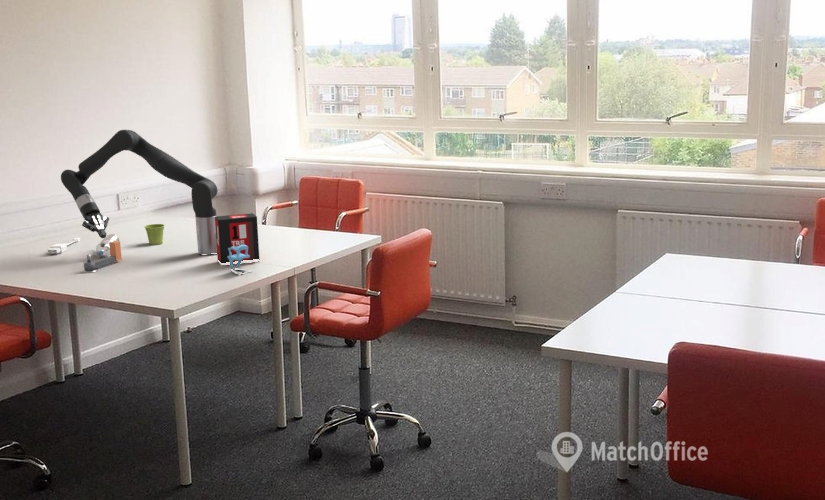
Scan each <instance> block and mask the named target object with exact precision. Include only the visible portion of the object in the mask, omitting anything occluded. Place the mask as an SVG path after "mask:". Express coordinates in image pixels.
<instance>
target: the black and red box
mask: <svg viewBox="0 0 825 500" xmlns="http://www.w3.org/2000/svg"><path fill="white" fill-rule="evenodd" d="M215 228H216V242H217V254H216V255H217V261H218V260H219V261H220V262H221V263H226V262H229V259H228V257H227V256H229V254H230V253H229V250H228V248H231V247H232V246H236V247H238V246H239V245H241V244H244V245H246V246H248V251H247V254H248V255H250V257H249V258H244V259H242V261H243V260H253V259H259V260H260V246H259V243H260V242H259V230H258V229H259V228H258V217H257V215H256V214H254V213H253V212H252V213H251V212H250V213H242V214H241V213H239V214H231V215H230V214H229V215H218V216H217V215H216V216H215ZM230 251H231V253H232V255H235V254H237V252H236V251H235V250H233V249H231V250H230ZM245 252H246V250H241V251H240V253H241V254H245ZM245 255H246V254H245ZM235 261H239V260H233V262H235Z"/></svg>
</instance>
